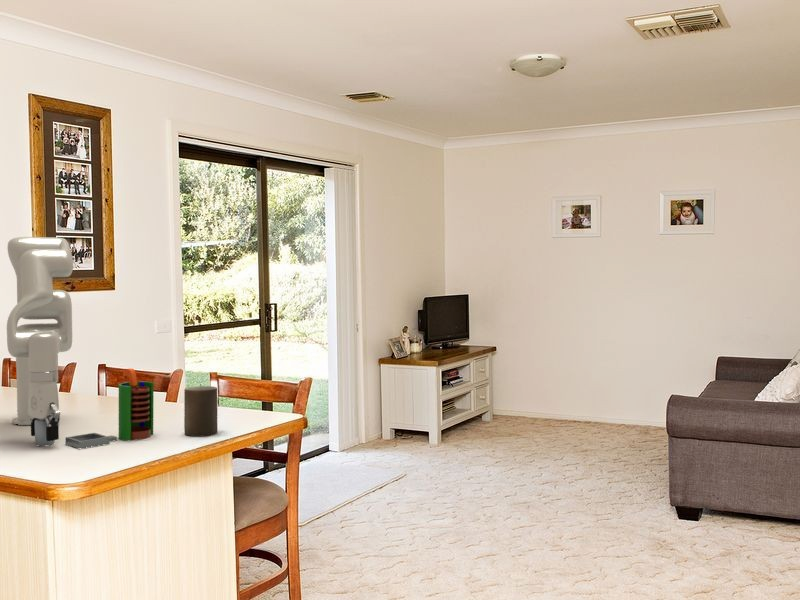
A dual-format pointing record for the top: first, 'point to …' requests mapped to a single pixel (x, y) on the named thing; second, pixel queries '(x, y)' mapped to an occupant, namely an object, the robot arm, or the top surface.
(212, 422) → the pillar candle
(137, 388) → the motor
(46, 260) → the robot arm
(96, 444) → the grey tray
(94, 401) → the top surface
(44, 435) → the pump
